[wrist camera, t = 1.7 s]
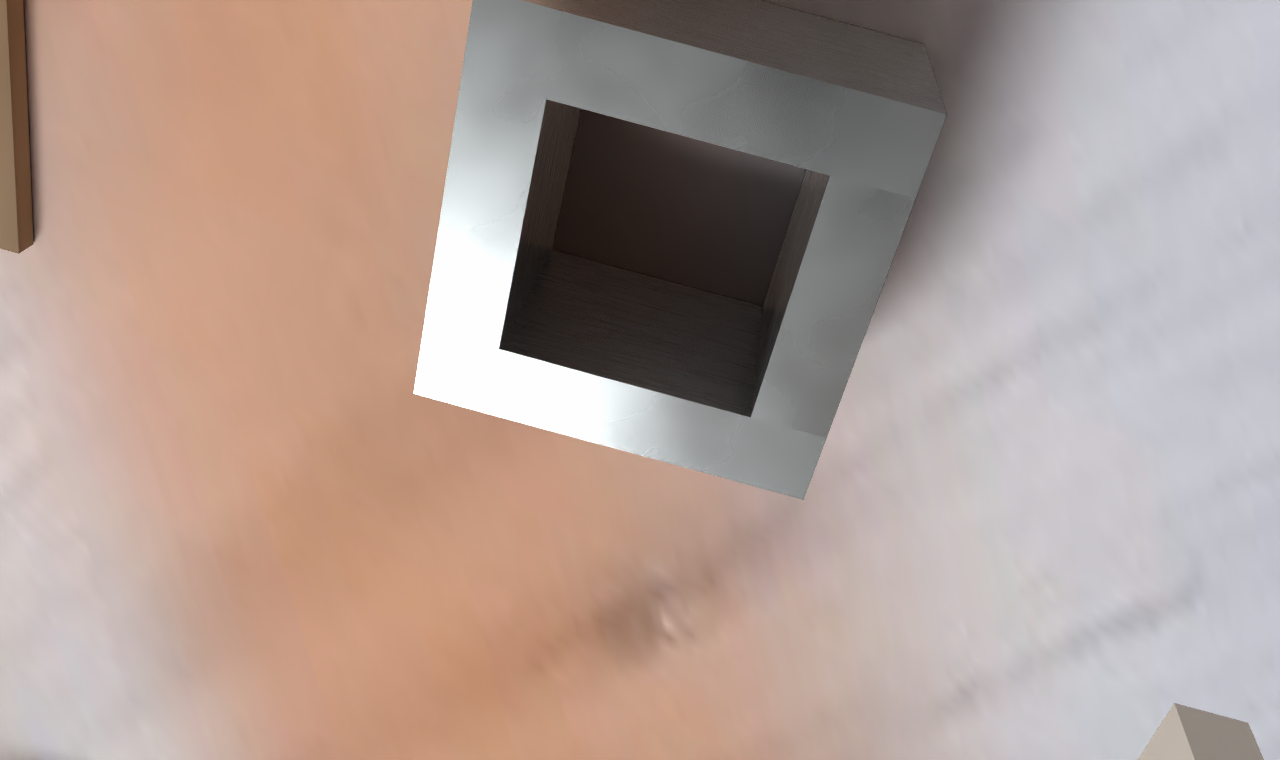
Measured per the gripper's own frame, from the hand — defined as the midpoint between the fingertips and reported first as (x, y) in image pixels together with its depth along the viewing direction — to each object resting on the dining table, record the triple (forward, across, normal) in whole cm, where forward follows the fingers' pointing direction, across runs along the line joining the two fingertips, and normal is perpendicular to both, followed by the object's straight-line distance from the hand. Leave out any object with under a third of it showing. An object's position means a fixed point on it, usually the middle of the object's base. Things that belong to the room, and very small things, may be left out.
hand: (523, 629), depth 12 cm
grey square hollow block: (+15, 0, 0) cm, 15 cm away
